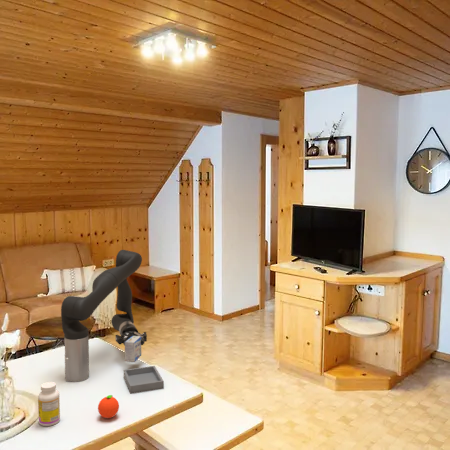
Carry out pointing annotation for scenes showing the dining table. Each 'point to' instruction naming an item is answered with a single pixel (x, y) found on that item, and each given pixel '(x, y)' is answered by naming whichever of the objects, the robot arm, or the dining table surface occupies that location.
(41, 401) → the supplement bottle
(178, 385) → the dining table surface
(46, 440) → the dining table surface
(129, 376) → the tray
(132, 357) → the medicine box
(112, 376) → the dining table surface
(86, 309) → the robot arm
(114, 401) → the clementine
